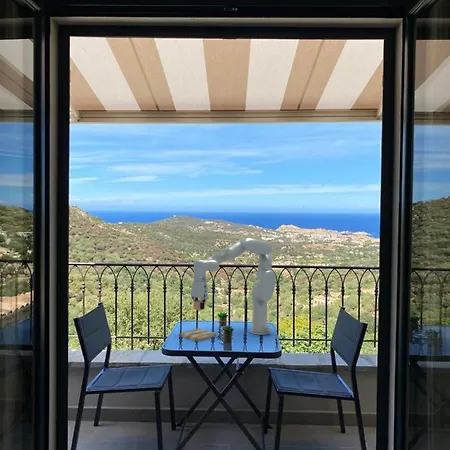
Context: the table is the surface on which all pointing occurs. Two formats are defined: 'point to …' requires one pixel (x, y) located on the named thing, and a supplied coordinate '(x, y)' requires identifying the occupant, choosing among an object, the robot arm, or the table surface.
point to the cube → (197, 305)
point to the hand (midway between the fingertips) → (199, 308)
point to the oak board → (198, 335)
